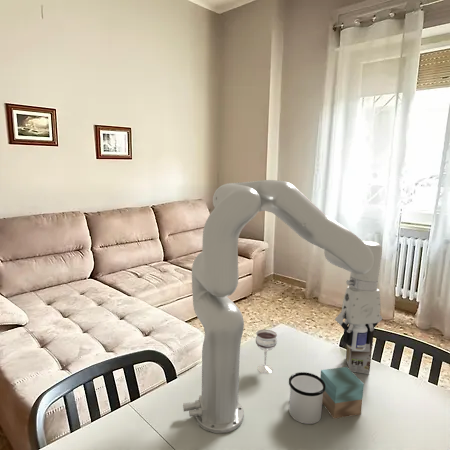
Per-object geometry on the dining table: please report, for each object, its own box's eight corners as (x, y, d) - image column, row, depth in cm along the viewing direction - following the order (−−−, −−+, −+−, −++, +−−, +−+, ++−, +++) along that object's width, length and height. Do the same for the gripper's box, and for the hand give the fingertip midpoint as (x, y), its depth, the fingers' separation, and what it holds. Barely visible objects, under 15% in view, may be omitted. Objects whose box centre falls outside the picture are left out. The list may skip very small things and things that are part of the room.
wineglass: (279, 370, 112) (281, 335, 110) (265, 377, 108) (267, 341, 106) (264, 360, 117) (266, 327, 115) (250, 367, 113) (251, 333, 111)
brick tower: (333, 418, 91) (336, 387, 89) (318, 399, 99) (321, 369, 97) (360, 414, 93) (363, 383, 91) (344, 395, 100) (346, 366, 99)
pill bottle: (366, 346, 104) (370, 318, 103) (363, 353, 100) (366, 324, 98) (348, 340, 107) (351, 313, 106) (344, 347, 103) (347, 319, 101)
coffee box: (370, 374, 111) (375, 327, 108) (349, 371, 112) (353, 324, 109) (364, 359, 120) (369, 315, 117) (345, 357, 121) (349, 313, 118)
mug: (330, 422, 89) (333, 390, 88) (297, 429, 87) (299, 396, 85) (306, 393, 101) (308, 364, 99) (276, 398, 98) (278, 369, 97)
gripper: (344, 288, 95) (337, 351, 98) (397, 287, 99) (389, 347, 102) (329, 280, 102) (323, 338, 105) (380, 279, 106) (373, 335, 109)
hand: (356, 342), depth 103 cm, fingers closed on pill bottle, 5 cm apart
